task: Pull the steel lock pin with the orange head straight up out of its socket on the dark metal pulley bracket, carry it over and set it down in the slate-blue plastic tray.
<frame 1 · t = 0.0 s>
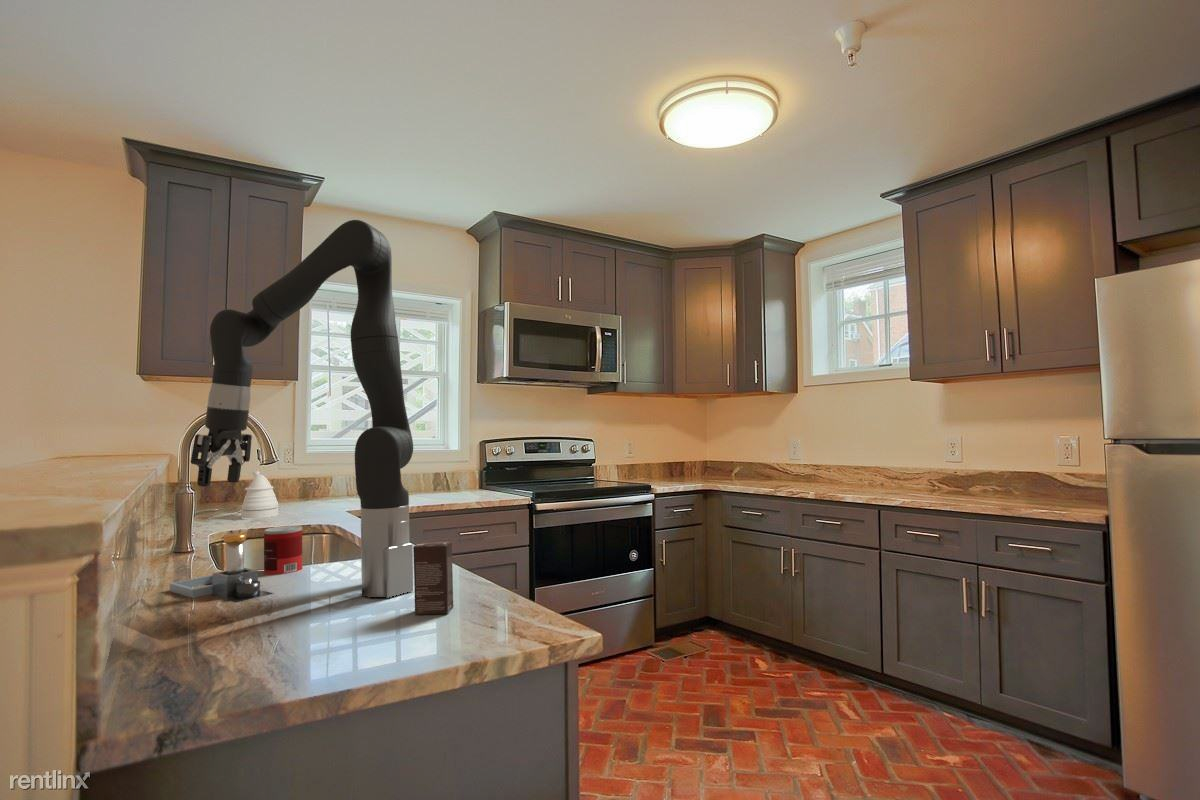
hand: (218, 484, 130), 22 cm above the worktop, tool pointing down, fingers open, 8 cm apart
box: (434, 612, 111), on the worktop
canned food: (283, 578, 142), on the worktop
pulley bracket: (241, 601, 121), on the worktop
lock pin: (235, 592, 123), point 1 cm above the worktop, touching pulley bracket
honey pot: (260, 517, 246), on the worktop
tray: (203, 596, 126), on the worktop
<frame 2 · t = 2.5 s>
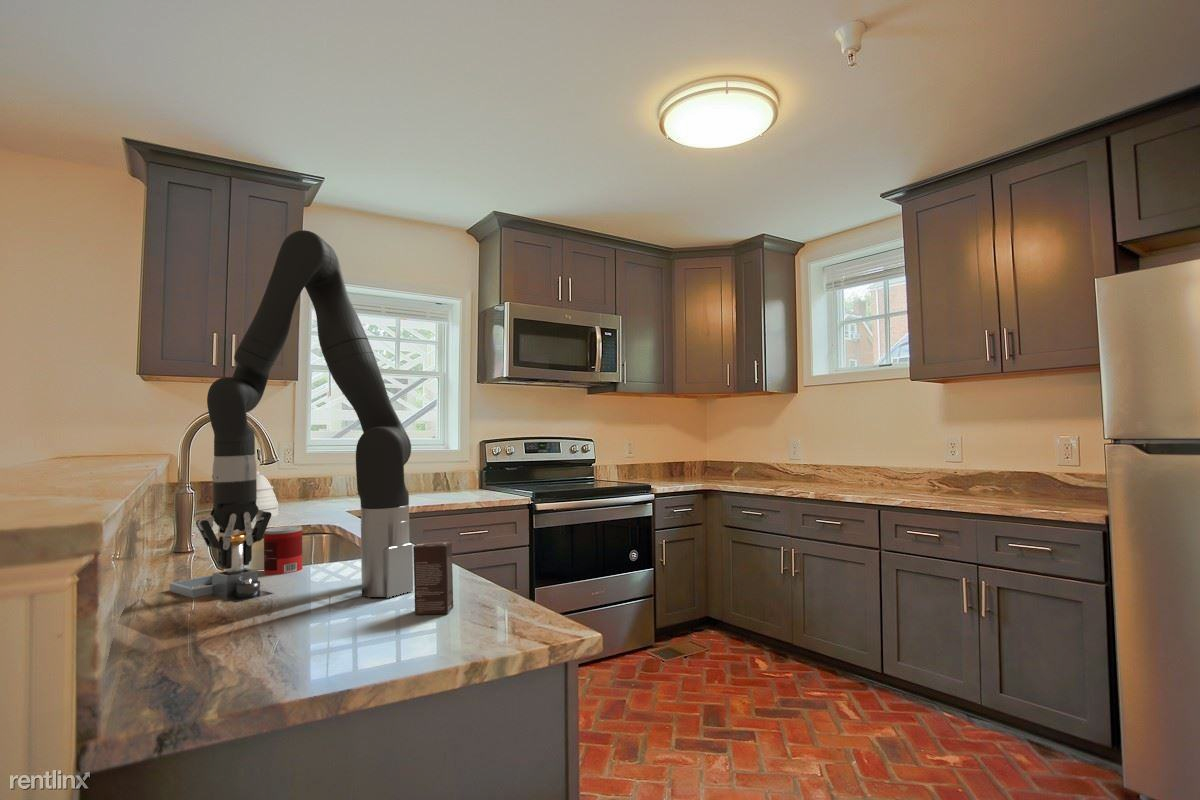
hand: (235, 566, 123), 7 cm above the worktop, tool pointing down, fingers closed on lock pin, 3 cm apart
lock pin: (235, 592, 123), point 1 cm above the worktop, touching gripper, pulley bracket
everything else where it was.
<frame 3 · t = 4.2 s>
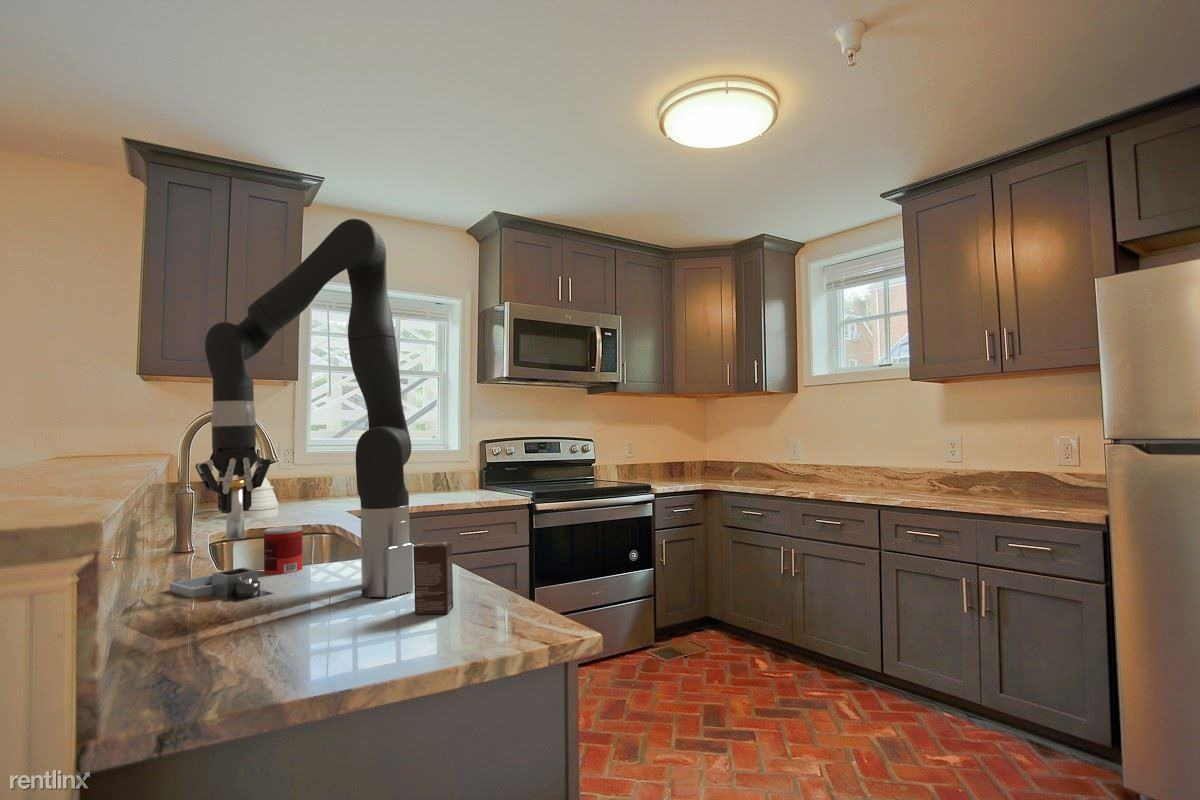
hand: (235, 511, 123), 17 cm above the worktop, tool pointing down, fingers closed on lock pin, 3 cm apart
lock pin: (235, 537, 123), point 12 cm above the worktop, touching gripper
everything else where it was.
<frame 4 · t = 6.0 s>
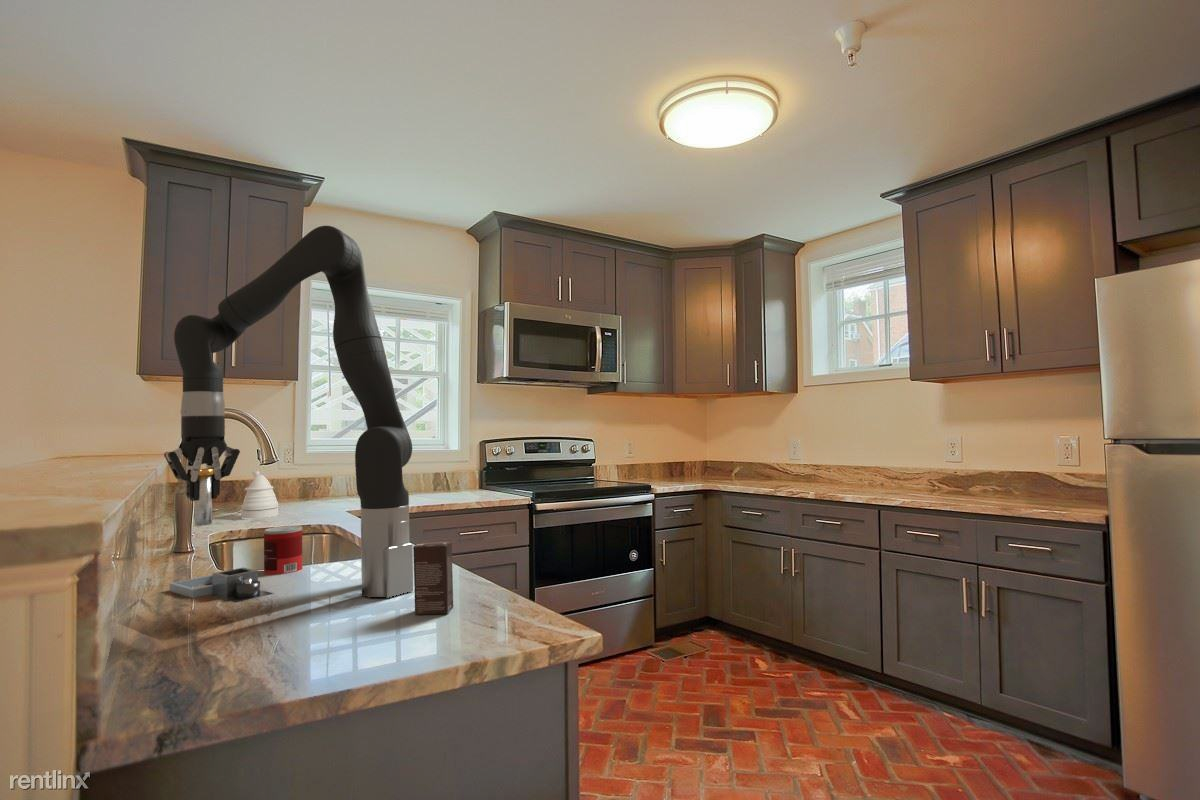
hand: (203, 499, 127), 20 cm above the worktop, tool pointing down, fingers closed on lock pin, 3 cm apart
lock pin: (203, 524, 127), point 15 cm above the worktop, touching gripper
everything else where it was.
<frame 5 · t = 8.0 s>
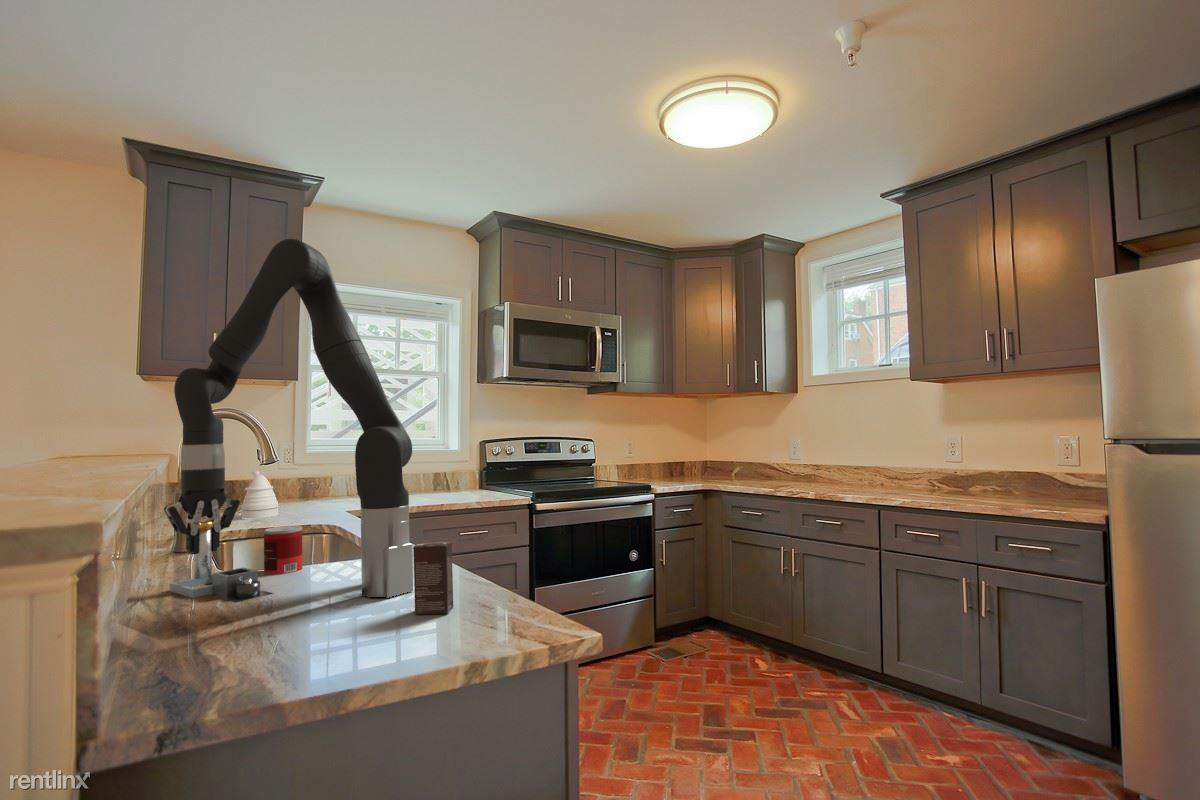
hand: (203, 551, 126), 9 cm above the worktop, tool pointing down, fingers closed on lock pin, 3 cm apart
lock pin: (203, 577, 126), point 4 cm above the worktop, touching gripper
everything else where it was.
when the fingers open (7 cm above the worktop, at t = 9.5 s): lock pin stays where it is, resting on tray.
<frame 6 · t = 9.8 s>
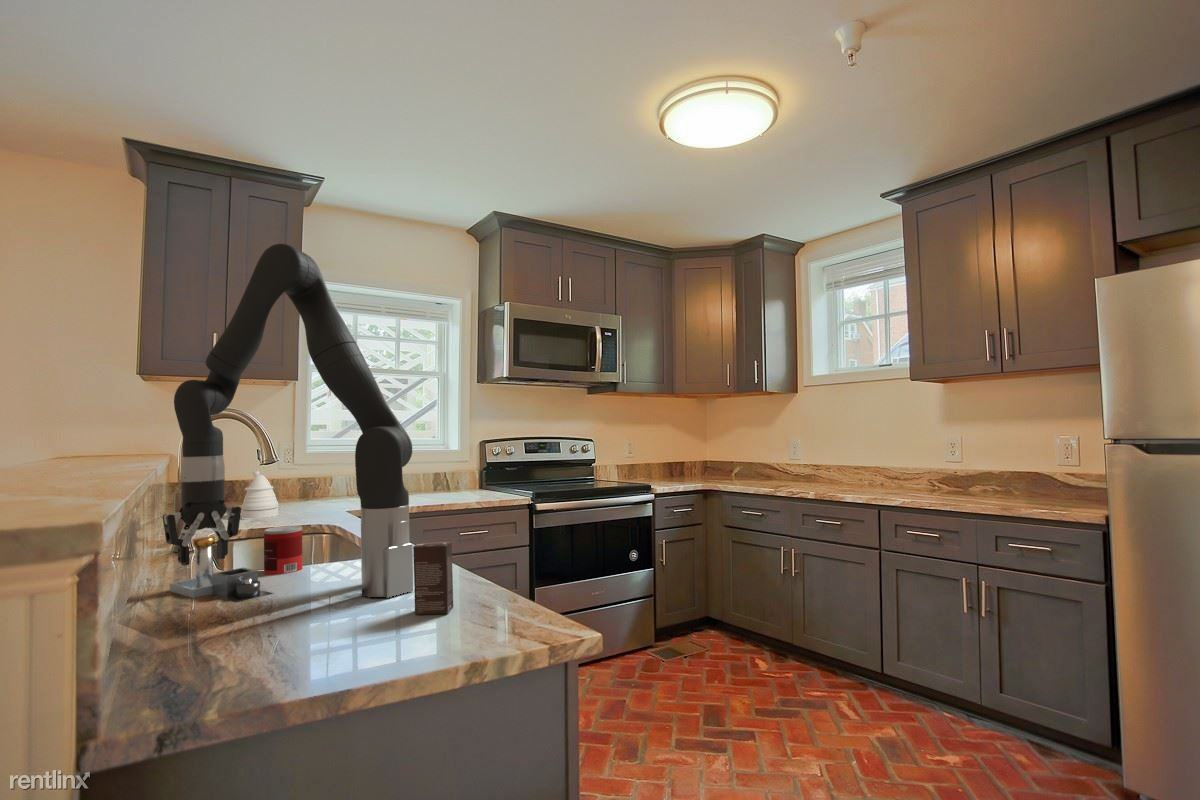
hand: (203, 561, 126), 7 cm above the worktop, tool pointing down, fingers open, 6 cm apart
lock pin: (205, 593, 126), point 1 cm above the worktop, touching tray
everything else where it was.
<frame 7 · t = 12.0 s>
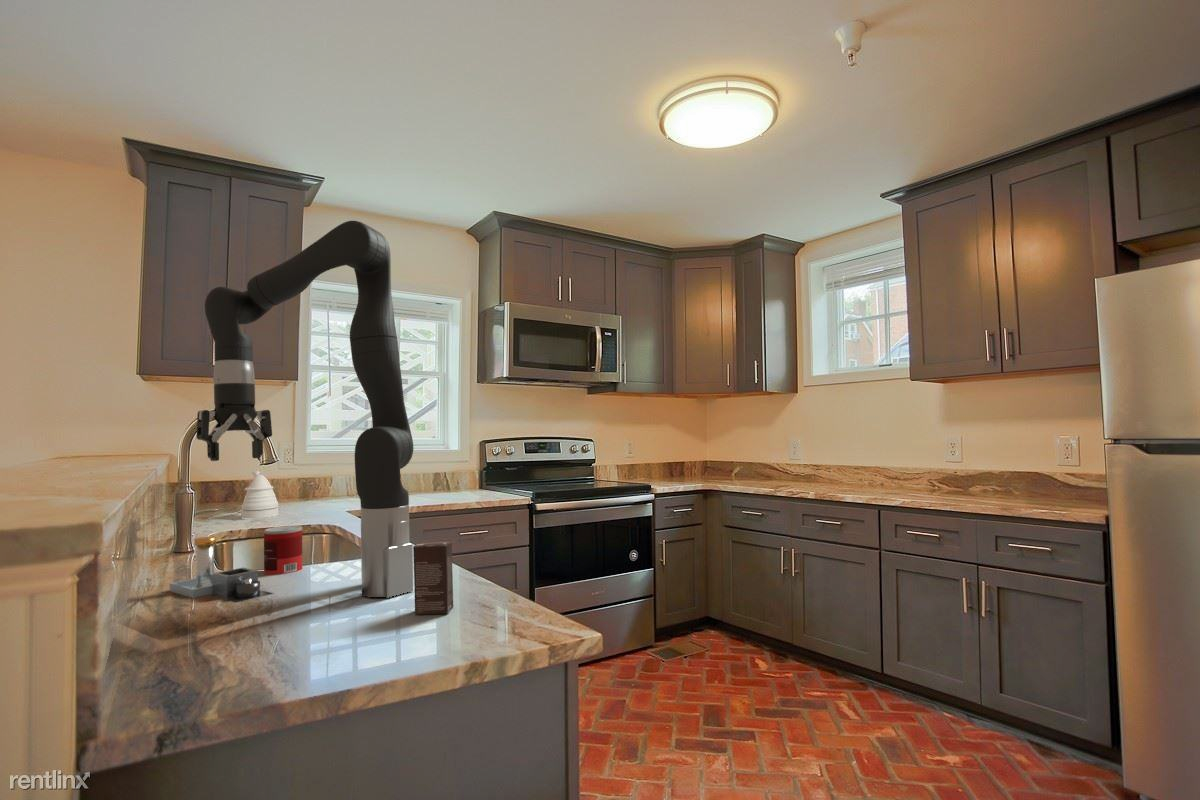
hand: (236, 459, 132), 27 cm above the worktop, tool pointing down, fingers open, 8 cm apart
nothing on the worktop moved.
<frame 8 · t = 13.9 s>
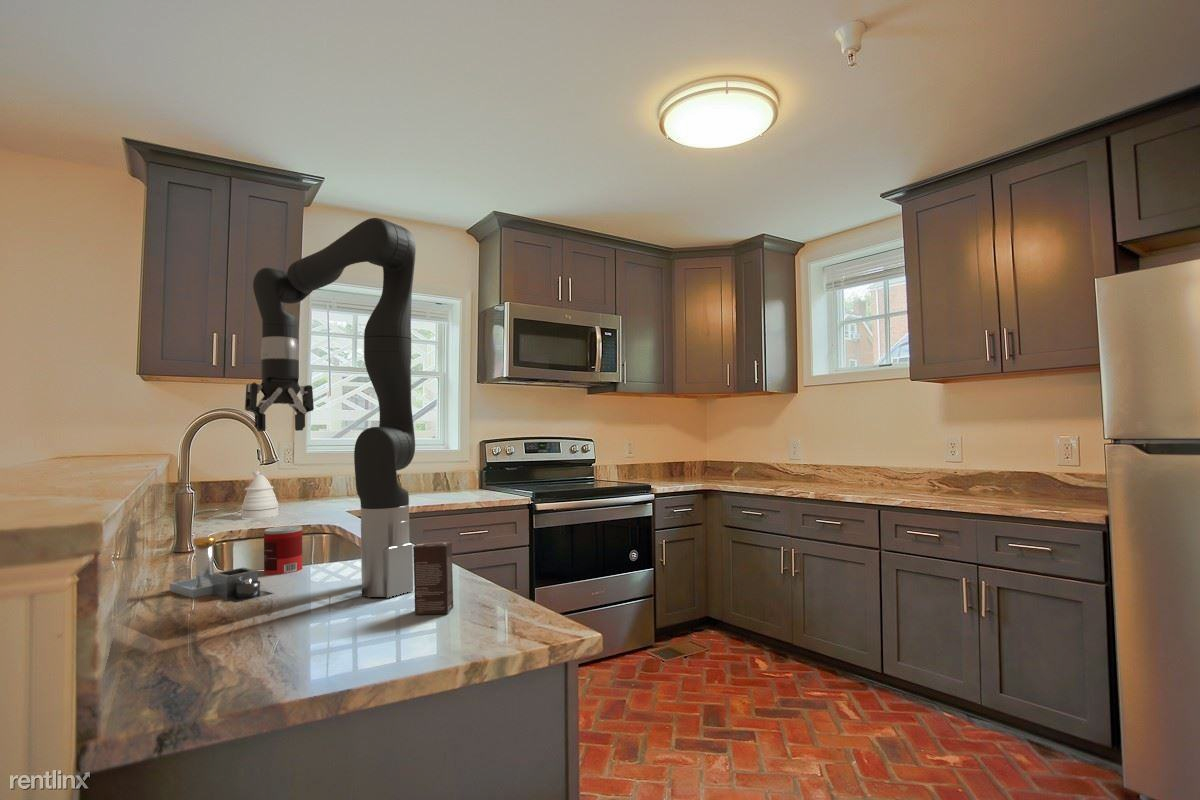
hand: (280, 430, 140), 33 cm above the worktop, tool pointing down, fingers open, 8 cm apart
nothing on the worktop moved.
at the end: lock pin inside the target area on the tray (0.3 cm from its centre), point 0.5 cm above the tray's base; the gripper is holding nothing; lock pin moved 9.0 cm from its start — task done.
